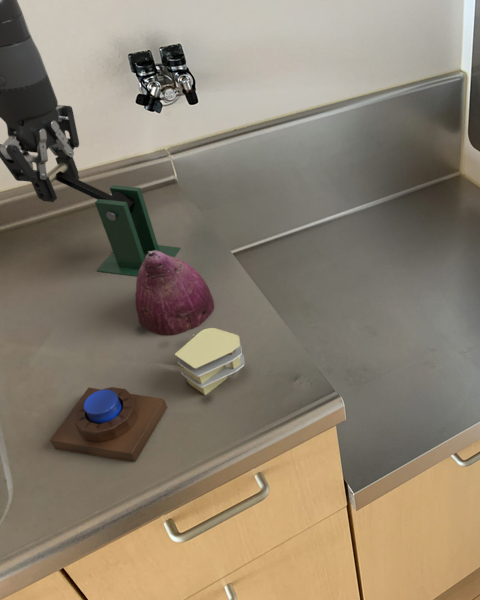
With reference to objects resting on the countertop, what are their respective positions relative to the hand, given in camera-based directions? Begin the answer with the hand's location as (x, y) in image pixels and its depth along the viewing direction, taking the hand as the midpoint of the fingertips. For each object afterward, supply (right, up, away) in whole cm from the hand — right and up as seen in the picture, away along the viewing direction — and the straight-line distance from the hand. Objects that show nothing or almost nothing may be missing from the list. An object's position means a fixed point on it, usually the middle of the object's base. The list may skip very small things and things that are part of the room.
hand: (60, 189), depth 90 cm
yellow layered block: (+26, -26, -10) cm, 38 cm away
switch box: (+15, -31, -17) cm, 39 cm away
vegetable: (+18, -19, -1) cm, 26 cm away
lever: (+4, -1, 0) cm, 4 cm away
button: (+15, -29, -19) cm, 38 cm away
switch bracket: (+9, -11, +7) cm, 15 cm away
